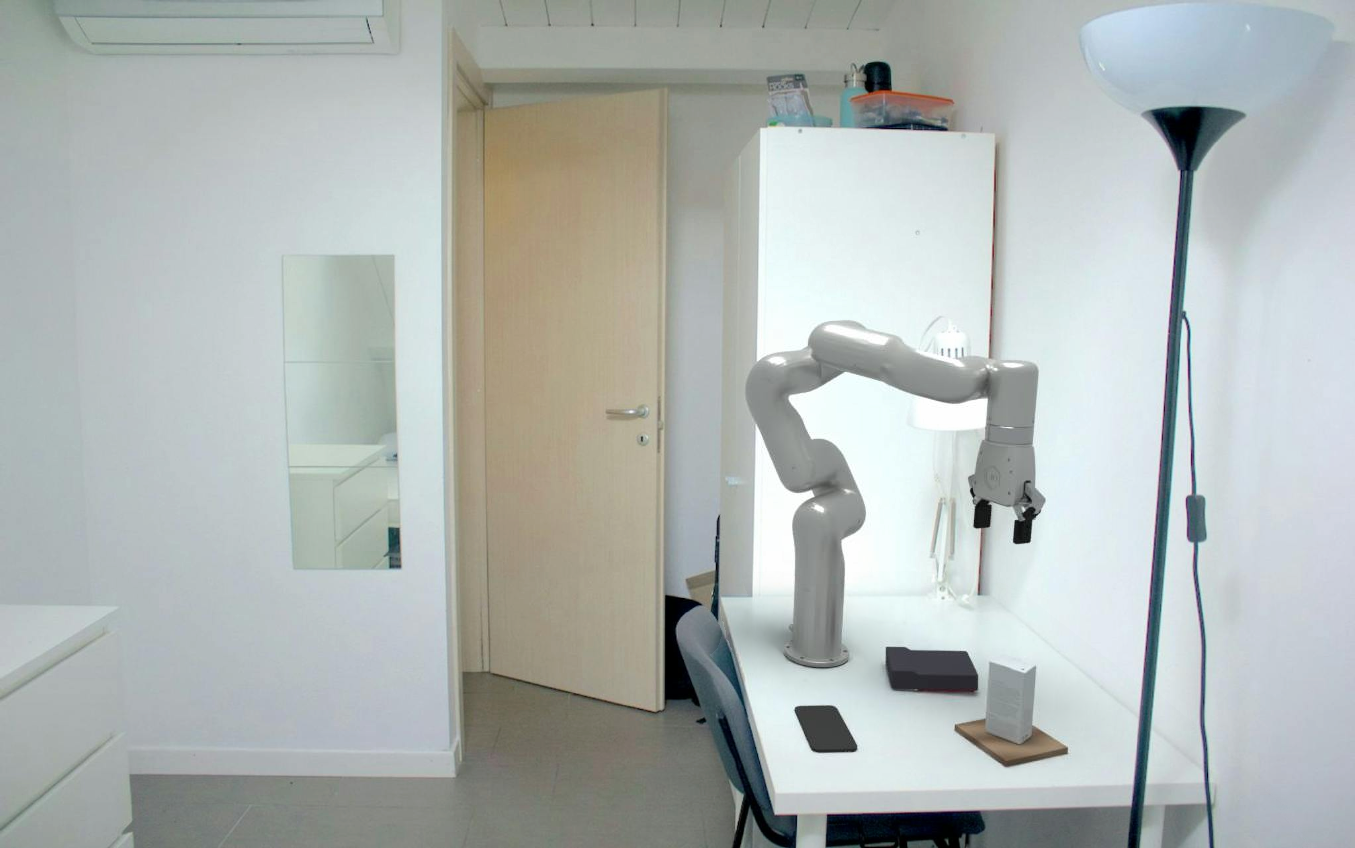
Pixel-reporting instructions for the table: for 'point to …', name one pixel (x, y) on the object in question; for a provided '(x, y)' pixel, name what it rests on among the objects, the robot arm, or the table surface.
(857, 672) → the table surface
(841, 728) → the phone
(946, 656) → the dark gray stepped block
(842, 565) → the robot arm
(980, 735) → the walnut pad
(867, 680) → the table surface
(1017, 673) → the skincare box
